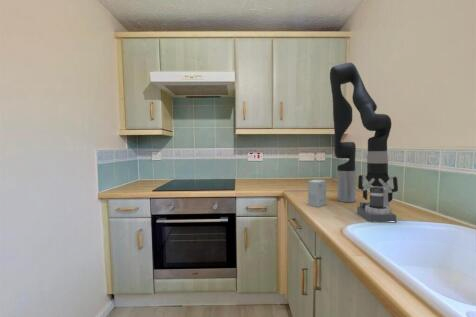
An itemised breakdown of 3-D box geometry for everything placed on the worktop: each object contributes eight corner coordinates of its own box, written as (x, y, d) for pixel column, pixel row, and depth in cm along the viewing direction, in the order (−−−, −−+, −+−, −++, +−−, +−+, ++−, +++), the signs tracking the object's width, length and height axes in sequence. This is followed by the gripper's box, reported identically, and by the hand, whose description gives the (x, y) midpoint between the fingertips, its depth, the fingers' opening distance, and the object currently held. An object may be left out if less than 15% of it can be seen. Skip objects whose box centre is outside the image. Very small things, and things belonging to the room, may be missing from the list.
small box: (315, 202, 132) (315, 179, 132) (326, 204, 128) (326, 180, 127) (307, 205, 127) (307, 181, 126) (319, 207, 122) (318, 182, 122)
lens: (368, 212, 100) (368, 188, 100) (371, 209, 104) (370, 186, 104) (383, 213, 97) (382, 189, 96) (385, 211, 101) (385, 187, 100)
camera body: (357, 212, 110) (357, 200, 110) (380, 213, 109) (380, 200, 109) (369, 221, 96) (369, 207, 96) (396, 222, 95) (396, 208, 95)
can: (383, 207, 119) (383, 183, 119) (393, 211, 112) (393, 185, 111) (368, 207, 119) (368, 183, 119) (377, 211, 112) (377, 186, 111)
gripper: (356, 162, 101) (356, 200, 102) (396, 162, 92) (396, 204, 93) (360, 161, 107) (360, 197, 108) (398, 161, 98) (398, 200, 99)
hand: (377, 200), depth 100 cm, fingers open, 8 cm apart
